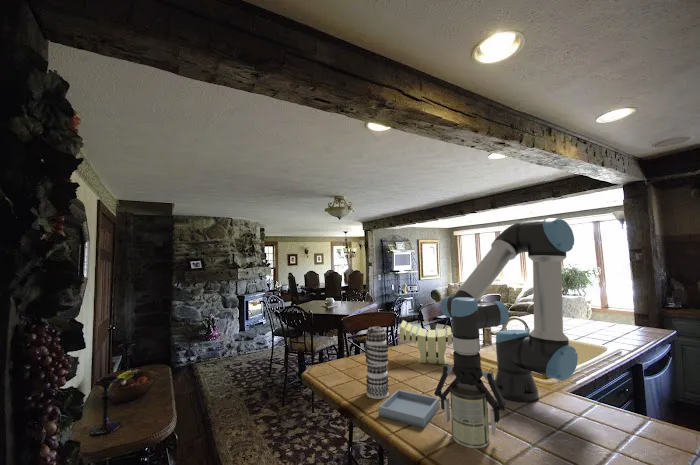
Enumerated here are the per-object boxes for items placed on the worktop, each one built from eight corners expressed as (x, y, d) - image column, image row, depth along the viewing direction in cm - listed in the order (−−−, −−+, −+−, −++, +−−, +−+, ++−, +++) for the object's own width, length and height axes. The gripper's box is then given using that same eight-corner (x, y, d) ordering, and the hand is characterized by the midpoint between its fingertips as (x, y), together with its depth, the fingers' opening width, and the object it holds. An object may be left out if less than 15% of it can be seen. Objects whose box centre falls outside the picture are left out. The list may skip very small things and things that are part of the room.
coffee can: (446, 429, 99) (444, 381, 100) (480, 428, 99) (477, 380, 100) (459, 449, 88) (457, 396, 89) (496, 448, 89) (493, 395, 90)
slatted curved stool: (400, 363, 158) (399, 326, 160) (404, 353, 174) (403, 320, 175) (465, 367, 150) (464, 328, 152) (463, 357, 166) (461, 321, 167)
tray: (439, 407, 113) (439, 398, 113) (424, 428, 100) (423, 418, 100) (398, 397, 121) (397, 389, 121) (378, 416, 108) (378, 406, 108)
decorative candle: (364, 398, 121) (362, 330, 122) (366, 388, 130) (365, 325, 132) (389, 399, 119) (387, 330, 121) (389, 389, 129) (387, 325, 130)
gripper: (514, 353, 92) (518, 432, 91) (430, 342, 105) (432, 411, 104) (511, 361, 86) (515, 445, 85) (422, 348, 99) (424, 421, 98)
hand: (470, 427), depth 94 cm, fingers open, 12 cm apart
